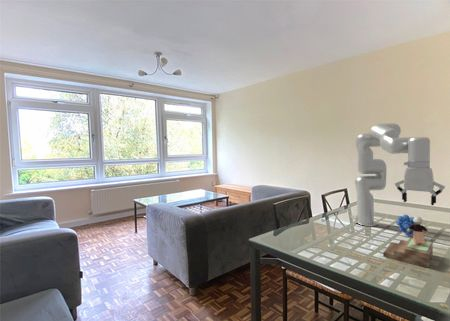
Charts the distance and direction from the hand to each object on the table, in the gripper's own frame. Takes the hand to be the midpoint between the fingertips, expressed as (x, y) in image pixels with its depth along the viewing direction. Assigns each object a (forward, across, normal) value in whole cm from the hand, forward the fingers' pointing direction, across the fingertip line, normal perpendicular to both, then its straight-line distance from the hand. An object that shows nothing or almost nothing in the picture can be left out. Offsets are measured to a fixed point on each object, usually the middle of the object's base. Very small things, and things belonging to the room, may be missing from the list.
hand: (418, 203), depth 107 cm
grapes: (+26, -8, +28) cm, 39 cm away
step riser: (+25, -4, 0) cm, 26 cm away
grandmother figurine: (+19, 0, 0) cm, 19 cm away
